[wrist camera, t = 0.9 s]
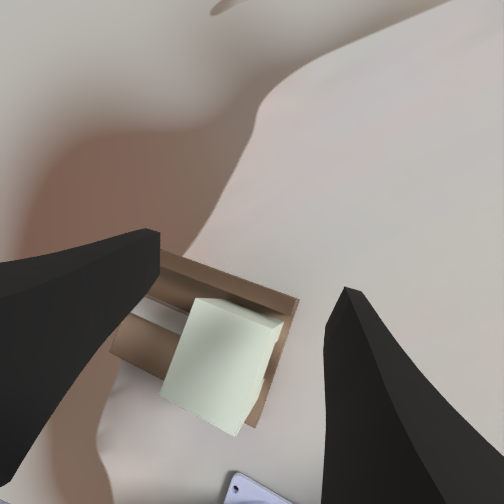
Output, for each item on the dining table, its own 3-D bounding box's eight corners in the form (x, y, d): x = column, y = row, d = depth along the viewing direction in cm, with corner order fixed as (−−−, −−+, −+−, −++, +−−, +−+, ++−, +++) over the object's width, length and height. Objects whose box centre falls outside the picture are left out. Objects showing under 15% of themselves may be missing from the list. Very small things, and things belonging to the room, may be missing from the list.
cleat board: (259, 419, 21) (245, 449, 17) (120, 349, 25) (80, 358, 21) (299, 299, 22) (296, 298, 18) (160, 249, 26) (130, 238, 22)
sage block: (257, 398, 20) (235, 437, 14) (200, 370, 21) (158, 395, 16) (284, 321, 21) (272, 329, 15) (226, 299, 22) (195, 297, 16)
